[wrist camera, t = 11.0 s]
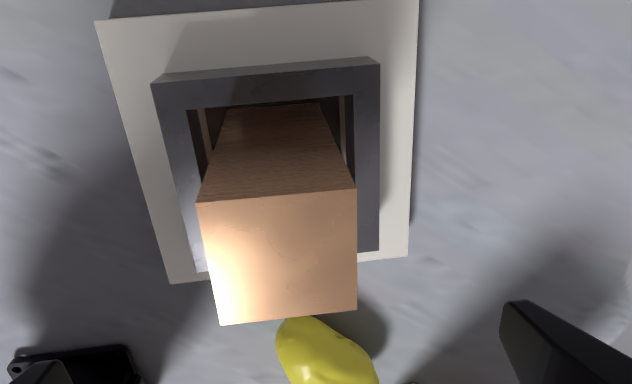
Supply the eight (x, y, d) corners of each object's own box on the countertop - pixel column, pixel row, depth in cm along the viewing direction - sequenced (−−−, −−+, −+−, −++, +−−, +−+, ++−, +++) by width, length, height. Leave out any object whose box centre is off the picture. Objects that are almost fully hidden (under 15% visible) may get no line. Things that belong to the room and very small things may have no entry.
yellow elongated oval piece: (312, 286, 23) (320, 338, 19) (386, 357, 26) (404, 414, 23) (256, 323, 24) (254, 380, 20) (334, 389, 27) (344, 447, 23)
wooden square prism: (240, 189, 20) (220, 325, 11) (228, 109, 18) (195, 203, 10) (321, 182, 20) (357, 309, 12) (317, 102, 18) (357, 188, 10)
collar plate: (176, 266, 21) (160, 313, 18) (108, 18, 16) (68, 24, 12) (398, 240, 22) (420, 281, 19) (407, -4, 16) (439, -4, 13)
